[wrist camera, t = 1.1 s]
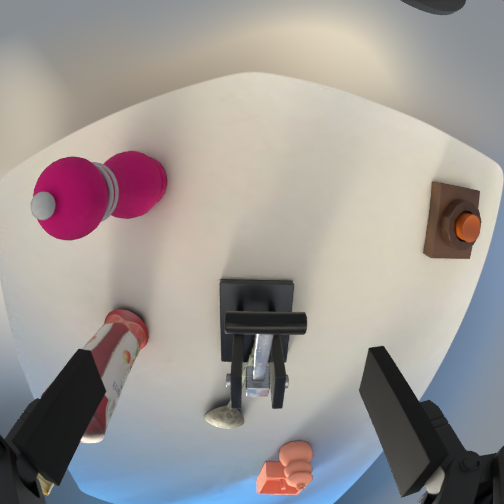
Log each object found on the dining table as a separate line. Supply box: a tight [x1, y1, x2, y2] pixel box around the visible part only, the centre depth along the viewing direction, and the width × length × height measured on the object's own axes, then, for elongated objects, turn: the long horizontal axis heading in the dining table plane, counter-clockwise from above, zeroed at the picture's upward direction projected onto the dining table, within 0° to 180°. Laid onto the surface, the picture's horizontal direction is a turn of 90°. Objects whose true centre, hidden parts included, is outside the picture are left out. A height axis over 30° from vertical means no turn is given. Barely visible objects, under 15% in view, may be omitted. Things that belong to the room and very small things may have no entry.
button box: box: [423, 182, 481, 259], centre depth 32 cm, size 10×8×4 cm
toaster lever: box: [225, 311, 307, 396], centre depth 23 cm, size 14×5×2 cm, turn 178°
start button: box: [455, 213, 480, 242], centre depth 30 cm, size 4×4×2 cm
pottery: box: [257, 441, 313, 495], centre depth 44 cm, size 18×10×10 cm, turn 169°
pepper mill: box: [31, 151, 167, 240], centre depth 23 cm, size 7×7×20 cm
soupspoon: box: [204, 337, 255, 429], centre depth 39 cm, size 22×3×7 cm
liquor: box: [37, 309, 149, 495], centre depth 25 cm, size 7×7×28 cm
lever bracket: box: [220, 279, 294, 409], centre depth 32 cm, size 12×9×14 cm
